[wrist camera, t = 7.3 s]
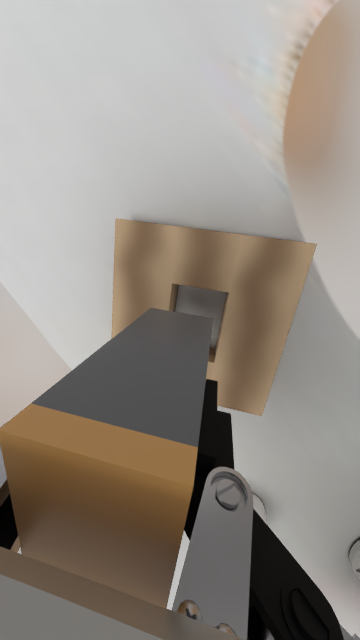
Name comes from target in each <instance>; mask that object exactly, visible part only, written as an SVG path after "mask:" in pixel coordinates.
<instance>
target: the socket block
mask: <svg viewBox="0 0 360 640" xmlns="http://www.w3.org/2000/svg"><path fill="white" fill-rule="evenodd" d="M316 245H317V244H313V243H305V242H297V241H290V240H282V239H274V238H266V237H258V236H250V235H242V234H234V233H227V232H219V231H211V230H203V229H195V228H187V227H179V226H171V225H163V224H156V223H148V222H140V221H132V220H124V219H116V220H115V250H114V280H113V310H112V338H114V337H115V336H116V335H117V334H119V333H120V332H121V331H122V330H124V329H125V328H126V327H127V326H129V325H130V324H131V323H132V322H134V321H135V320H136V319H137V318H139V317H140V316H141V315H142V314H144V313H145V312H146V311H147V310H149V309H150V308H157V309H162V310H168V311H173V312H175V306H176V298H177V291H178V284H179V285H185V286H191V287H197V288H203V289H209V290H215V291H221V292H227V296H226V301H225V305H224V310H223V315H222V320H221V325H220V329H219V334H218V339H217V344H216V349H213V348H210V349H209V357H208V366H207V374H206V379H210V380H215V381H218V395H217V405H218V406H222V407H226V408H230V409H234V410H238V411H243V412H247V413H251V414H255V415H259V416H262V414H263V411H264V407H265V404H266V401H267V398H268V395H269V392H270V389H271V386H272V383H273V379H274V376H275V373H276V370H277V367H278V364H279V361H280V358H281V354H282V351H283V348H284V345H285V342H286V339H287V336H288V333H289V330H290V326H291V323H292V320H293V317H294V314H295V311H296V308H297V305H298V302H299V298H300V295H301V292H302V289H303V286H304V283H305V280H306V277H307V273H308V270H309V267H310V264H311V261H312V258H313V255H314V252H315V249H316Z"/></svg>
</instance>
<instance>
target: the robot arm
mask: <svg viewBox="0 0 360 640" xmlns="http://www.w3.org/2000/svg"><path fill="white" fill-rule="evenodd" d="M217 395H218V381H215V380H210V379H206V383H205V392H204V400H203V409H202V417H201V426H200V434H199V443H198V452H197V460H196V469H195V477H194V486H193V491H192V495H191V500H190V504H189V509H188V513H187V518H186V522H185V527H184V531H185V532H186V534H187V536H188V538H189V540H190V543H189V547H188V551H187V555H186V559H185V562H184V566H183V570H182V573H181V577H180V581H179V585H178V589H177V592H176V596H175V600H174V604H173V607H172V611H171V610H169V609H166V608H163V607H161V606H158V605H155V604H153V603H150V602H147V601H145V600H142V599H139V598H137V597H134V596H132V595H129V594H126V593H124V592H121V591H118V590H116V589H113V588H110V587H108V586H105V585H102V584H100V583H97V582H94V581H92V580H89V579H86V578H84V577H81V576H78V575H76V574H73V573H70V572H68V571H65V570H62V569H59V568H57V567H54V566H51V565H49V564H46V563H43V562H41V561H38V560H35V559H32V558H30V557H27V556H24V555H22V554H19V553H17V552H18V550H19V548H20V542H19V537H18V532H17V527H16V522H15V517H14V511H13V506H12V501H11V496H10V491H9V486H8V481H7V476H6V471H5V466H4V461H3V455H2V450H1V445H0V640H360V638H359V637H358V636H357V635H356V634H354V635H353V636H351V635H350V634H349V633H348V632H347V631H346V630H345V629H344V628H343V627H342V626H341V625H340V624H339V621H338V619H337V617H336V615H335V613H334V611H333V609H332V607H331V605H330V604H329V602H328V601H327V599H326V598H325V596H324V595H323V593H322V592H321V591H320V589H319V588H318V587H317V586H316V585H315V583H314V582H313V581H312V580H311V578H310V577H309V576H308V575H307V573H306V572H305V571H304V570H303V569H302V567H301V566H300V565H299V564H298V562H297V561H296V560H295V559H294V557H293V556H292V555H291V554H290V553H289V551H288V550H287V549H286V548H285V546H284V545H283V544H282V543H281V541H280V540H279V539H278V538H277V537H276V535H275V534H274V533H273V532H272V530H271V529H270V528H269V527H268V525H267V524H266V523H265V522H264V521H263V519H262V518H261V517H260V516H259V514H258V513H257V512H256V511H255V510H254V508H253V493H252V491H251V488H250V485H249V484H248V482H247V481H246V479H245V478H244V477H243V476H242V475H241V474H240V473H238V472H237V471H235V470H234V458H233V442H232V425H231V414H230V413H225V412H221V411H217ZM5 424H6V423H5ZM5 424H4V425H5ZM1 427H2V426H1ZM1 427H0V428H1ZM349 561H350V563H351V566H352V568H353V571H354V573H355V575H356V576H357V578H358V579H359V580H360V540H358V541H357V542H356V543H355V544H354V545H353V547H352V548H351V550H350V554H349Z"/></svg>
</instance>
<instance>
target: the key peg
mask: <svg viewBox="0 0 360 640" xmlns="http://www.w3.org/2000/svg"><path fill="white" fill-rule="evenodd" d="M212 323H213V319H212V318H206V317H201V316H195V315H190V314H184V313H179V312H173V311H168V310H162V309H157V308H150V309H149V310H147V311H146V312H145V313H144V314H142V315H141V316H140V317H139V318H137V319H136V320H135V321H134V322H132V323H131V324H130V325H129V326H127V327H126V328H125V329H124V330H122V331H121V332H120V333H119V334H117V335H116V336H115V337H114V338H112V339H111V340H110V341H109V342H107V343H106V344H105V345H104V346H102V347H101V348H100V349H99V350H97V351H96V352H95V353H94V354H92V355H91V356H90V357H89V358H87V359H86V360H85V361H84V362H82V363H81V364H80V365H79V366H77V367H76V368H75V369H74V370H72V371H71V372H70V373H69V374H67V375H66V376H65V377H64V378H62V379H61V380H60V381H59V382H57V383H56V384H55V385H54V386H52V387H51V388H50V389H49V390H47V391H46V392H45V393H44V394H42V395H41V396H40V397H39V398H37V399H36V400H35V401H34V402H32V403H31V404H30V405H29V406H27V407H26V408H25V409H24V410H23V411H21V412H20V413H19V414H17V415H16V416H15V417H14V418H12V419H11V420H10V421H9V422H7V423H6V424H5V425H3V426H2V427H1V428H0V445H1V450H2V455H3V461H4V466H5V471H6V476H7V481H8V486H9V491H10V496H11V501H12V506H13V511H14V517H15V522H16V527H17V532H18V537H19V542H20V547H21V552H22V555H24V556H27V557H30V558H32V559H35V560H38V561H41V562H43V563H46V564H49V565H51V566H54V567H57V568H59V569H62V570H65V571H68V572H70V573H73V574H76V575H78V576H81V577H84V578H86V579H89V580H92V581H94V582H97V583H100V584H102V585H105V586H108V587H110V588H113V589H116V590H118V591H121V592H124V593H126V594H129V595H132V596H134V597H137V598H139V599H142V600H145V601H147V602H150V603H153V604H155V605H158V606H161V607H163V608H166V607H167V602H168V598H169V594H170V589H171V585H172V579H173V575H174V571H175V567H176V562H177V558H178V553H179V549H180V544H181V540H182V535H183V531H184V527H185V522H186V518H187V513H188V509H189V504H190V500H191V495H192V491H193V486H194V477H195V469H196V460H197V452H198V443H199V434H200V426H201V417H202V409H203V400H204V392H205V383H206V374H207V366H208V357H209V349H210V340H211V332H212Z"/></svg>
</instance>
